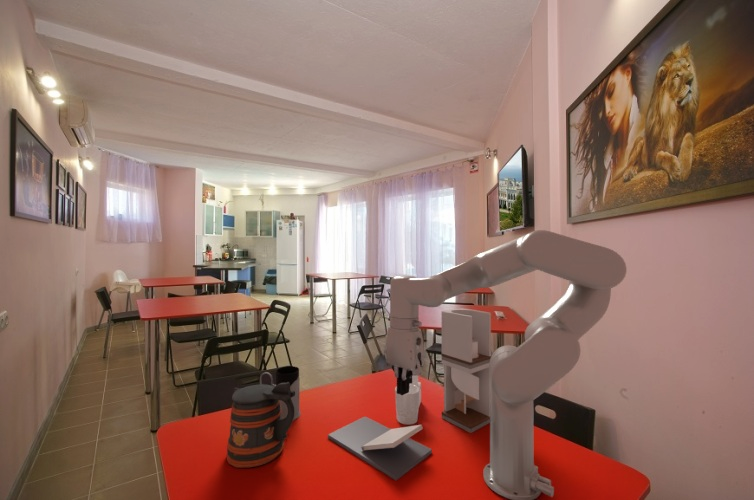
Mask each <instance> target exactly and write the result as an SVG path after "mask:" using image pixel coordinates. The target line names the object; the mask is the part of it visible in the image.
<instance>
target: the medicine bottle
mask: <svg viewBox="0 0 754 500" xmlns="http://www.w3.org/2000/svg"><path fill="white" fill-rule="evenodd" d="M409 384H411V385H415V386H417V387H418V388H419V407H418V409H419V408H420V405H421V402H422V382H421V381H419V375H418V376H412V377H411V378H410V383H409Z"/></svg>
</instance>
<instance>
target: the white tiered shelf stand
mask: <svg viewBox="0 0 754 500" xmlns="http://www.w3.org/2000/svg"><path fill="white" fill-rule="evenodd" d="M491 317H492V313H491V312H487V311H482V310H477V309H470V308H462V307H461V308H455V309H449V310H442V311H441V364H442V365H443V411H441V419H442V420H444V421H446V422H448V423H450V424H452V425H454V426H455V427H458V428H460V429H462V430H463V431H465V432H468V433H470V434H472V433H474V432H476V431H478V430H479V429H481V428H483V427H485V426H486V425H488V424H489V425H490V370H489V364H490V359H491V356H492V328H491V327H492V324H491V323H492V318H491Z"/></svg>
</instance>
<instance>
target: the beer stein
mask: <svg viewBox="0 0 754 500" xmlns="http://www.w3.org/2000/svg"><path fill="white" fill-rule="evenodd" d="M293 396H295V391H291V390H290V383H289V382H287V383H280V384H278V385H277V386H276V387H275V386H273V385H272V384H271V385H270V384H264V383H262V384H260V383H259V384H255V385H254V384H252V385H247V386H245V387H242V388H239V387H234V388H233V394H232V396H231V400H232V401H233V402H232V404H231V411H230V416H229V417H230V419H229V423H230V428H229V430H230V431H229V437H228V439H227V444H226V447H227V448H226V460H227V462H228V464H229V465H231V466H232V467H234V468H237V469H242V468H243V469H244V468H246V469H247V468H255V467H260V466H264V465H266V464H268V463H270V462H272V461H273V460H275V459H276V458H278V457H279V456H280V454H281V452H283V450H284V446H285V440H286V439H287V437H288V433H287V432H288V430H289V429H290V428H291V426H292V424H293V422H294V420H293V419H294V405H293V402H292V400H291V397H293ZM280 400H282V401H283V402H285V404H286V405H287V408H288V414H287V417H286V418H284V419H281V418H280V415H281V406H280Z"/></svg>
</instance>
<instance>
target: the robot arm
mask: <svg viewBox="0 0 754 500" xmlns="http://www.w3.org/2000/svg"><path fill="white" fill-rule="evenodd" d="M537 270H538V271H540V272H543V273H546V274H548V275H550V276H555V277H557V278H559V279H563V280H565V281H568V282H569V283H568V287H567V288H566V291H565V293H563V294H562V296H561V297H560V298H559V299H558V300H557V301H556V302H554V303H553V304H552V306H550V307H549V308H548V309H547V310H545V311H544V312H543V313H541V314H540V315H539V316H538V317H537V318H536V319H534V320H533V321H532V322H530V323H529V325H528V326H526V329H525V330H524V341H523V342H522V343H521V344H520V345H518V346H514V345H510V344H508V345H502V346H500V347H498V348H496V349H495V350H494V351H493V353H491V359H490V364H489V370H490V423H489V463H487V464H486V465H485V466H484V468H483V472H482V473H483V474H482V475H483V479H484V482H485V483H486V486H488V487H489V489H491V490H492V491H494V493H496V494H498V495H500V496H501V497H503V498H505V499H509V500H535V499H537V498H539V496H540V495H541V493H543V494H544V495H547V496H549V497H551V498H553V497H554V493H555V487H554V486H552V480H551V479H549V478H547V477H544V476H541V475H540V473H539V466H537V465H535V462H534V461H535V460H534V456H535V455H534V445H535V444H534V415H535V414H534V400H535V399H538V398H539V397H540V396H541V395H543V394H544V393H545V392H547V391H548V390H549V389H551V388H552V387H553V386H554V385H555V384H556V383H558V382H559V381H560V380H561V379H563V378H564V377H566V375H568V374H569V373H570V372H571V371H572V370H573V369H574V368H575V367H576V365H577V363H578V361H580V357H581V345H580V342H579V340H580V339H581V338H582V337H584V335H585V334H587V333H588V332H589V331H590V330H591V329H592V328H593V327H594V326H595V325H596V324H597V323H598V322H599V321H600V320H601V319H602V318H603V317H604V315H605V314H606V313H607V310H608V308H609V306H610V303H611V302H610V301H611V292H612V289H613V288H615V287H617V286H619V285H620V284H621V283H622V282H623V281H624V279H625V278H626V274H627V264H626V262H625V259H624V258H623V257H622V256H621V255H620V254H619V253H618V252H617V251H615V250H613V249H611V248H608V247H606V246H602V245H598V244H594V243H591V242H588V241H584V240H580V239H576V238H573V237H569V236H566V235H563V234H559V233H557V232H554V231H550V230H547V229H545V230H544V229H539V230H534V231H531V232H529V233H527V234H524V235H522V236H519V237H517V238H515V239H512V240H509V241H506V242H505V243H503V244H501V245H497V246H494V247H493V248H490V249H488V250H485V251H483V252H480V253H478V254H476V255H475V256H472V257H471V258H470V259H468V260H467V261H465V262H462V263H461V264H458V265H455V266H453V267H451V268H449V269H445V270H444V271H441V272H439V273H436V274H433V275H431V276H428V277H416V276H412V275H396V276H393V277H392V278H391V279H390V285H389V286H390V289H389V290H390V291H389V293H390V295H389V296H390V299H389V326H388V327H387V331H386V337H385V338H386V339H385V348H384V349H385V351H384V357H385V362H386V366H387V367H389V368H390V369H392V370H393V373H394V377H395V378H396V386H397V394H400V395H404V394H406V393H408V392H409V383H410V378H411V377H412V376H418V377H419V376H420V375H421V374H422V367H424V366H425V346H424V339H423V331H422V330H421V329H420V328H421V327H422V324H423V323H422V322H421V321H420V320H419V314H420V313H419V310H420V309H419V308H420V307H419V306H421V307H426V308H437V307H440V306H441V305H442V304H444V302H446V300H449V299H452V298H454V297H456V296H460V295H462V294H465V293H468V292H470V291H474V290H478V289H486V288H491V287H492V288H493V287H496V286H499V285H501V284H504V283H506V282H508V281H511V280H514V279H518V278H519V277H522V276H524V275H527V274H530V273H532V272H535V271H537Z"/></svg>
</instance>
